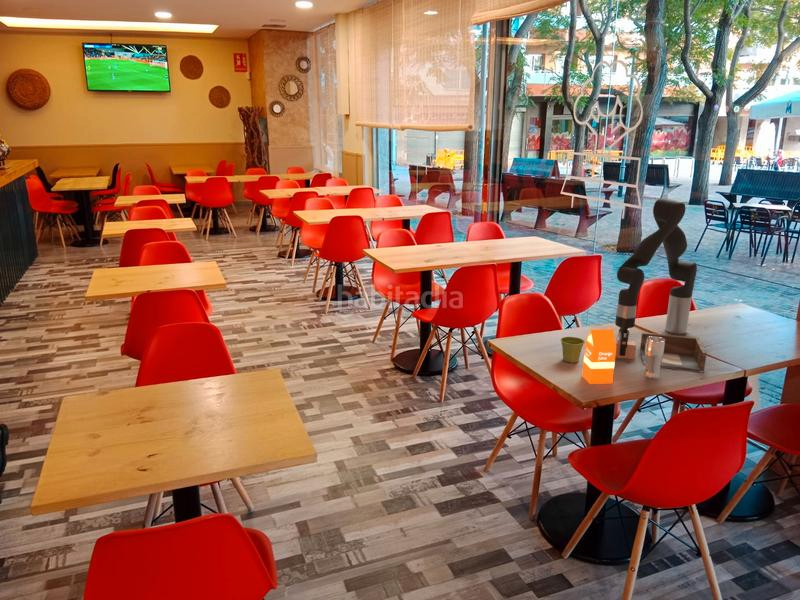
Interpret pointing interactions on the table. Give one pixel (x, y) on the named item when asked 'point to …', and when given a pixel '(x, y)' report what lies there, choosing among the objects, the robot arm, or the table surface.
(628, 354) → the terracotta bar
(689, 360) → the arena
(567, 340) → the plant pot
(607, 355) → the orange juice
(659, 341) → the beer glass
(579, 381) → the table surface
